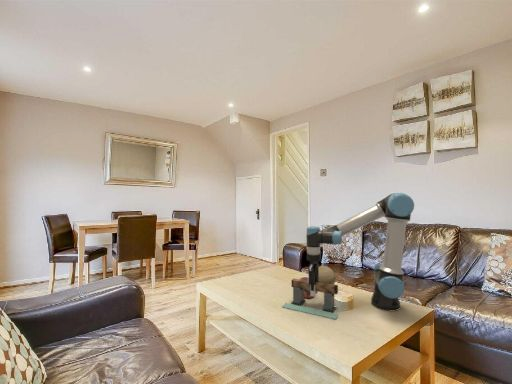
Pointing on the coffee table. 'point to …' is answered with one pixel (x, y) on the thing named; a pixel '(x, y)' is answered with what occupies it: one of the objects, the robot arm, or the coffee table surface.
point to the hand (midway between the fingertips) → (314, 294)
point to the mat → (311, 311)
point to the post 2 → (329, 302)
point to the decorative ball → (326, 275)
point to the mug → (306, 292)
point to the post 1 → (298, 296)
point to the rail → (318, 286)
